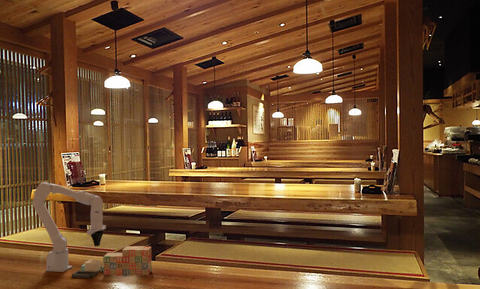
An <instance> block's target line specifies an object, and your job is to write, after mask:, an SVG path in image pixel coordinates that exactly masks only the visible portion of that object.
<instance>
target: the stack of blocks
mask: <svg viewBox="0 0 480 289" xmlns="http://www.w3.org/2000/svg"><path fill="white" fill-rule="evenodd" d="M121 250H122V251H121V252H107V253H106V254H105V255H103V257H102V258H103V262H102V263H103V265H104V272H103V276H104V275H114V277H115V276H117V277H119V276H120V277H122V276H123V277H124V276H125V277H126V276H129V277H131V276H134V277H135V275H148V276H149V275H150V274H151V273H150V272H152V258H153V256H152V254H153V253H152V246H145V245H141V246H139V245H137V246H135V245H133V246H125V247H124V248H123V249H121ZM149 273H150V274H149Z"/></svg>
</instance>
